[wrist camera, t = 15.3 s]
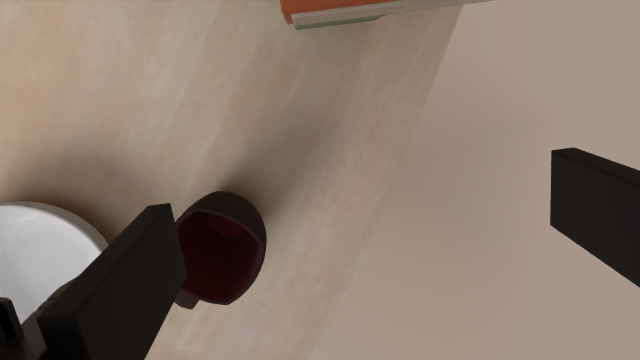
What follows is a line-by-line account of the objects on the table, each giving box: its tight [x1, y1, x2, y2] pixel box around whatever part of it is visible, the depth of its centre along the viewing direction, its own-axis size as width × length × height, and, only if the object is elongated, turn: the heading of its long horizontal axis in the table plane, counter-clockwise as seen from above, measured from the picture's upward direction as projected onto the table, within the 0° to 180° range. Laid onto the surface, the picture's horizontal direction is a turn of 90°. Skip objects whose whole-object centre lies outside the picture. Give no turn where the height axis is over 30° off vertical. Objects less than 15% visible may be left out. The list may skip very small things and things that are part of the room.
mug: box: [174, 191, 266, 309], centre depth 51 cm, size 10×14×12 cm
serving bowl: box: [0, 201, 109, 324], centre depth 54 cm, size 21×21×7 cm
